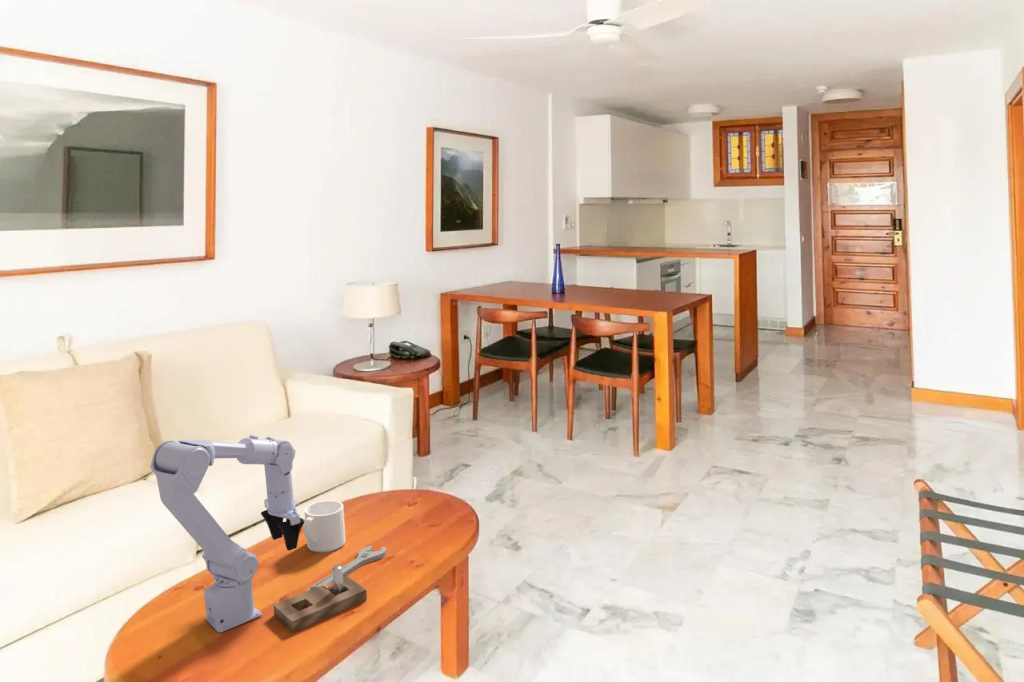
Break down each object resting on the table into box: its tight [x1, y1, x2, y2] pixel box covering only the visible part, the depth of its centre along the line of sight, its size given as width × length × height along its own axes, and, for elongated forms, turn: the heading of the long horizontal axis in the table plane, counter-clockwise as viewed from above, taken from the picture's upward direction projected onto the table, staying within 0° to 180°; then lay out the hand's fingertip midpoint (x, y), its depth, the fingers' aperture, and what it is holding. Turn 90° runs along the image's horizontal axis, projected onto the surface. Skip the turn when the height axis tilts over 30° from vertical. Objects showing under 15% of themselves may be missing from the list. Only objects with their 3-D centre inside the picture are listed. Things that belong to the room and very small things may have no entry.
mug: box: [302, 499, 346, 553], centre depth 185 cm, size 13×10×10 cm
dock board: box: [273, 575, 368, 633], centre depth 156 cm, size 18×9×3 cm, turn 133°
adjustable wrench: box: [307, 545, 387, 591], centre depth 172 cm, size 25×6×2 cm, turn 145°
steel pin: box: [331, 564, 344, 596], centre depth 158 cm, size 2×2×8 cm
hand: (284, 543), depth 165 cm, fingers open, 7 cm apart
